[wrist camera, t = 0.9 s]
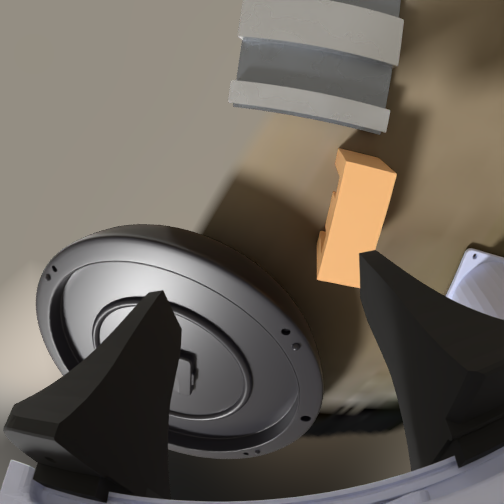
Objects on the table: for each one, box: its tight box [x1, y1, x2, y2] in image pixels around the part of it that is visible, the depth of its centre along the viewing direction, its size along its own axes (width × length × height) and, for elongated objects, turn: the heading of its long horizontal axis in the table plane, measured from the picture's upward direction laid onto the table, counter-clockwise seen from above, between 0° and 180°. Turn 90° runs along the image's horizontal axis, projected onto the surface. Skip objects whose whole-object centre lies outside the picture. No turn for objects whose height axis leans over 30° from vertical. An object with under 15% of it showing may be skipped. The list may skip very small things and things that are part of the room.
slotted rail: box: [228, 0, 404, 135], centre depth 16 cm, size 10×13×2 cm
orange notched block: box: [317, 148, 397, 288], centre depth 20 cm, size 3×8×5 cm, turn 172°
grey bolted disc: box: [36, 224, 324, 459], centre depth 30 cm, size 30×6×30 cm
